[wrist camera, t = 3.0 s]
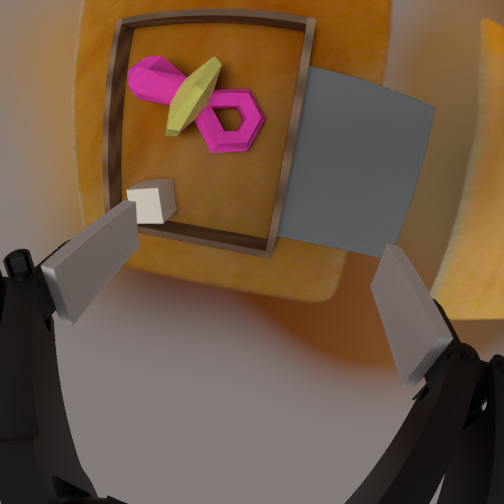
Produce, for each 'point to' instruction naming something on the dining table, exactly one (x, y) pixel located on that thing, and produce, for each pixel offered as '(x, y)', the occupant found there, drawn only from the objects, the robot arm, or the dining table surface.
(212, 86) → the toy
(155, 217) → the cream block
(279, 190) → the brown wooden frame
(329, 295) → the dining table surface
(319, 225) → the mat
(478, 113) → the dining table surface
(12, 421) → the robot arm
